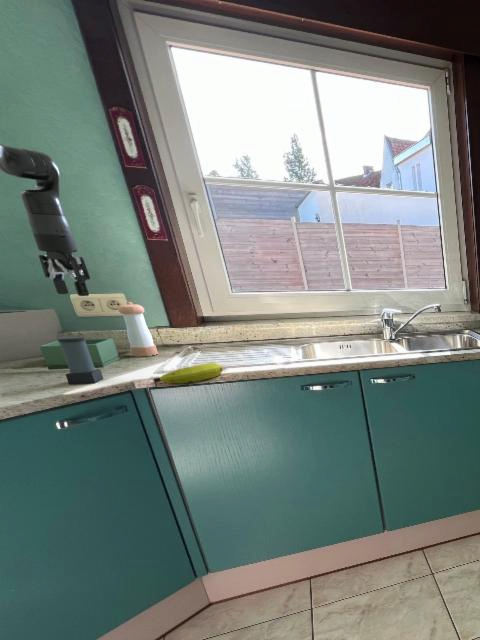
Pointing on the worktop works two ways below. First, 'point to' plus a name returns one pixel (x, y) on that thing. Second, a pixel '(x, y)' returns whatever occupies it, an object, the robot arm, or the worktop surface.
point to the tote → (97, 349)
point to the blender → (79, 361)
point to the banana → (192, 374)
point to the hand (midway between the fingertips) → (73, 294)
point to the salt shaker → (137, 330)
